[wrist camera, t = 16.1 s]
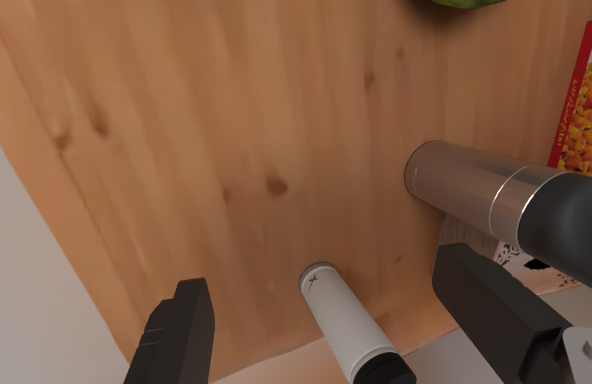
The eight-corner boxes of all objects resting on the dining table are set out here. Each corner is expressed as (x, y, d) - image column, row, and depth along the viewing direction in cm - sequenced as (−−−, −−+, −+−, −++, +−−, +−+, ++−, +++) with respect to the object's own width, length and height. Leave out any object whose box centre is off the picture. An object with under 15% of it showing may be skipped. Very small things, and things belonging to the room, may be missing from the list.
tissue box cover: (548, 193, 57) (614, 213, 48) (524, 256, 62) (580, 285, 53) (447, 201, 49) (503, 227, 40) (428, 273, 54) (475, 311, 45)
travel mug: (295, 268, 43) (366, 397, 25) (335, 257, 45) (428, 371, 27) (297, 301, 46) (365, 440, 28) (335, 289, 47) (422, 414, 30)
